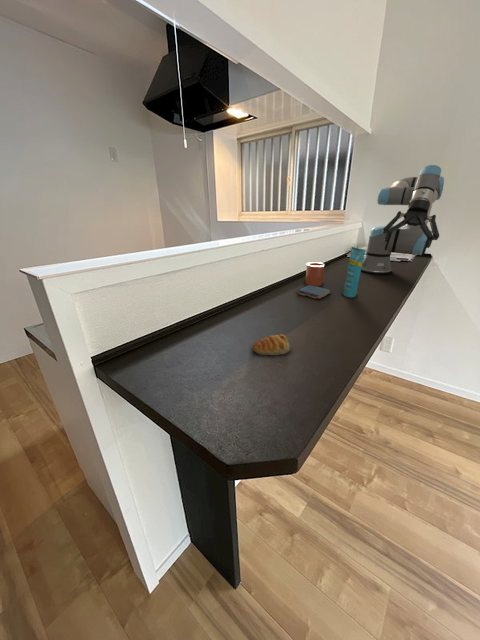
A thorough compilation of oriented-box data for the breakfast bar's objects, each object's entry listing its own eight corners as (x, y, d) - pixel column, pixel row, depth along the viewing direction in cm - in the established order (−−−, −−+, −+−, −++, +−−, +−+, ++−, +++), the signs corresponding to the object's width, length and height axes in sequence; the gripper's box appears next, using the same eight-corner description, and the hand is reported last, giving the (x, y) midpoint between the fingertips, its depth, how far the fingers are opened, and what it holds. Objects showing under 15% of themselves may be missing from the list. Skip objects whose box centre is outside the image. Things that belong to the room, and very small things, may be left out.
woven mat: (331, 293, 111) (331, 289, 110) (318, 300, 104) (319, 295, 103) (308, 288, 117) (309, 283, 116) (296, 294, 110) (296, 289, 109)
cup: (308, 280, 128) (310, 261, 124) (324, 282, 124) (327, 263, 120) (302, 284, 122) (304, 264, 118) (318, 287, 118) (321, 267, 114)
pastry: (258, 359, 66) (258, 346, 65) (248, 346, 72) (249, 334, 70) (291, 353, 69) (292, 340, 67) (279, 341, 75) (280, 329, 73)
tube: (338, 293, 110) (346, 246, 102) (347, 292, 112) (356, 246, 104) (351, 299, 104) (361, 250, 96) (361, 297, 106) (371, 249, 98)
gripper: (387, 195, 111) (371, 242, 110) (459, 201, 100) (442, 253, 99) (385, 205, 117) (370, 249, 117) (452, 212, 107) (436, 260, 106)
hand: (403, 251), depth 108 cm, fingers open, 13 cm apart
